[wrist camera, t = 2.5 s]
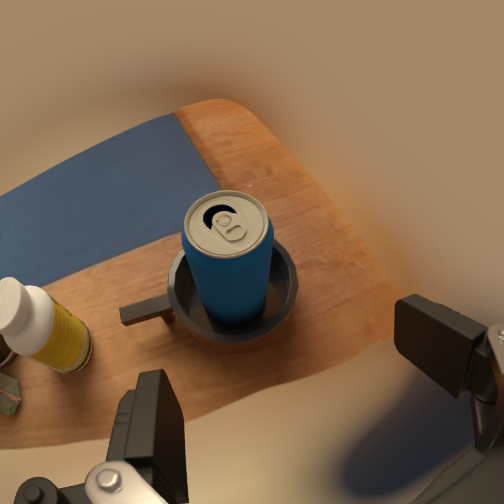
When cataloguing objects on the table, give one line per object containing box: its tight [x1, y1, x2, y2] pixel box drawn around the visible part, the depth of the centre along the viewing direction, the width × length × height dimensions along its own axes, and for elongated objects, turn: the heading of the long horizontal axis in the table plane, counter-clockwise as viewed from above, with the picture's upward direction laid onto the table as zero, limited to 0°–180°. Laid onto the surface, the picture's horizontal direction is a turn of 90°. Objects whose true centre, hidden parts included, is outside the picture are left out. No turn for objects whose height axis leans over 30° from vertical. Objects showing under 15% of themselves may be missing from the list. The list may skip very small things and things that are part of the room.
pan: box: [167, 238, 298, 353], centre depth 28 cm, size 12×12×4 cm
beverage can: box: [181, 190, 274, 323], centre depth 24 cm, size 6×6×12 cm
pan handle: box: [119, 293, 175, 326], centre depth 26 cm, size 5×2×4 cm, turn 111°
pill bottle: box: [0, 277, 92, 374], centre depth 21 cm, size 6×6×12 cm
